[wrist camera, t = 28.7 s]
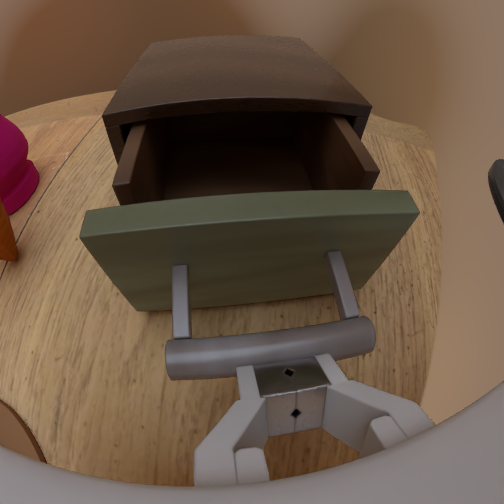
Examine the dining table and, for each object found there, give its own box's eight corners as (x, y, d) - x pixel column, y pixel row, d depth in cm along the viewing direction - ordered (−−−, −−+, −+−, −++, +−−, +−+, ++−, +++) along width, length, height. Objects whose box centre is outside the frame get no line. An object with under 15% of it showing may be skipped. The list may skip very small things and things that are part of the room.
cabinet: (334, 209, 19) (372, 106, 12) (140, 224, 18) (101, 115, 11) (289, 109, 27) (299, 38, 20) (161, 116, 25) (151, 42, 18)
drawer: (380, 359, 13) (464, 312, 7) (137, 390, 11) (59, 364, 6) (304, 143, 22) (319, 71, 16) (155, 151, 21) (141, 77, 15)
